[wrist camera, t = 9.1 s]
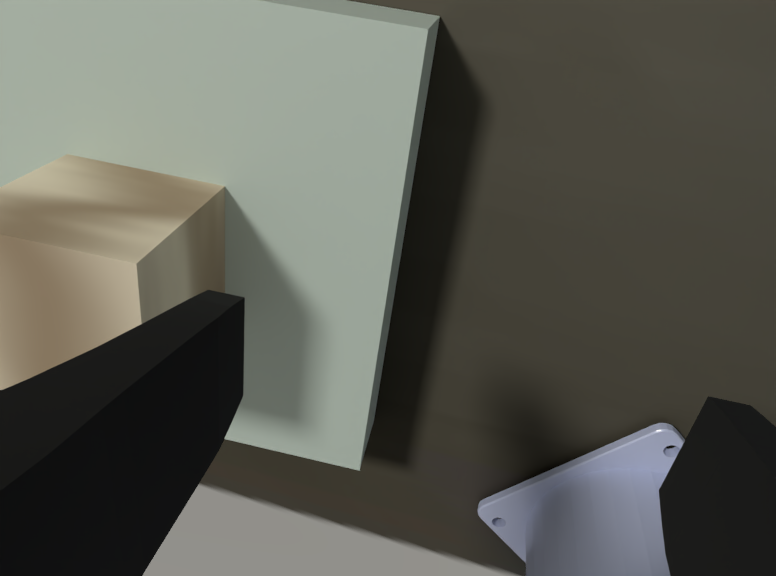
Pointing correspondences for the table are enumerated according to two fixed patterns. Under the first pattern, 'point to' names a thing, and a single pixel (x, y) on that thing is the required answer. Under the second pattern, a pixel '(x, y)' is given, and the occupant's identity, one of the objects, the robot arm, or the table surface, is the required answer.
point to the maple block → (99, 256)
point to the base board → (251, 169)
